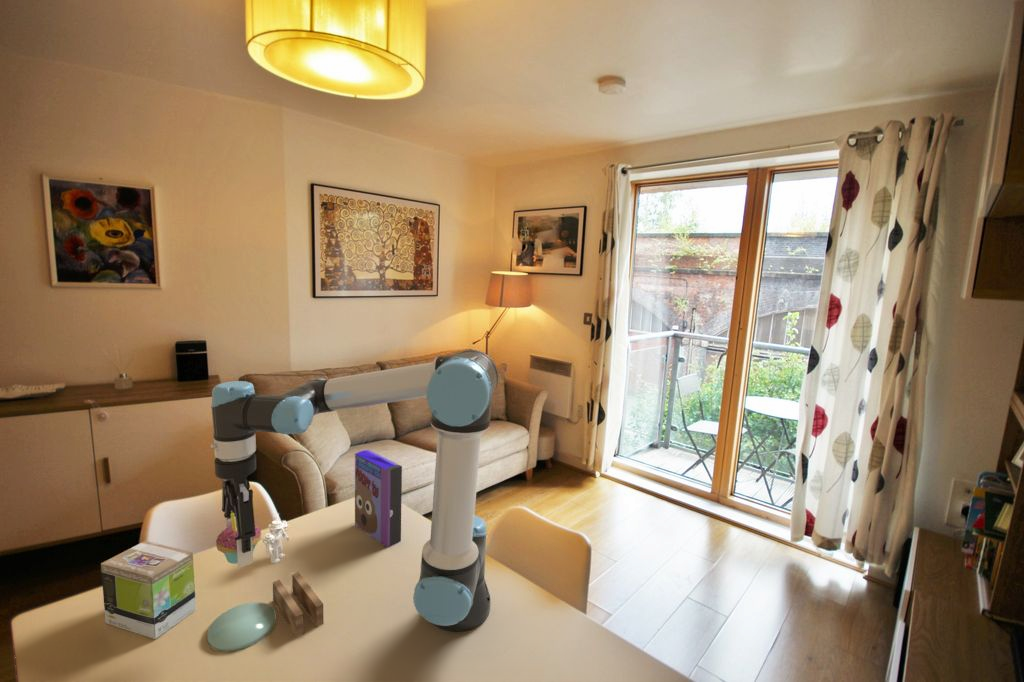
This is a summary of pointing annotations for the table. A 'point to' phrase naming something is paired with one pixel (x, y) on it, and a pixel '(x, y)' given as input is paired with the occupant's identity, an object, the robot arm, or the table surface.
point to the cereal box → (378, 497)
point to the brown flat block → (307, 599)
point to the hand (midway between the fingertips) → (239, 554)
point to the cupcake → (233, 541)
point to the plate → (241, 626)
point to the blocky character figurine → (276, 539)
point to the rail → (288, 608)
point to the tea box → (148, 588)
